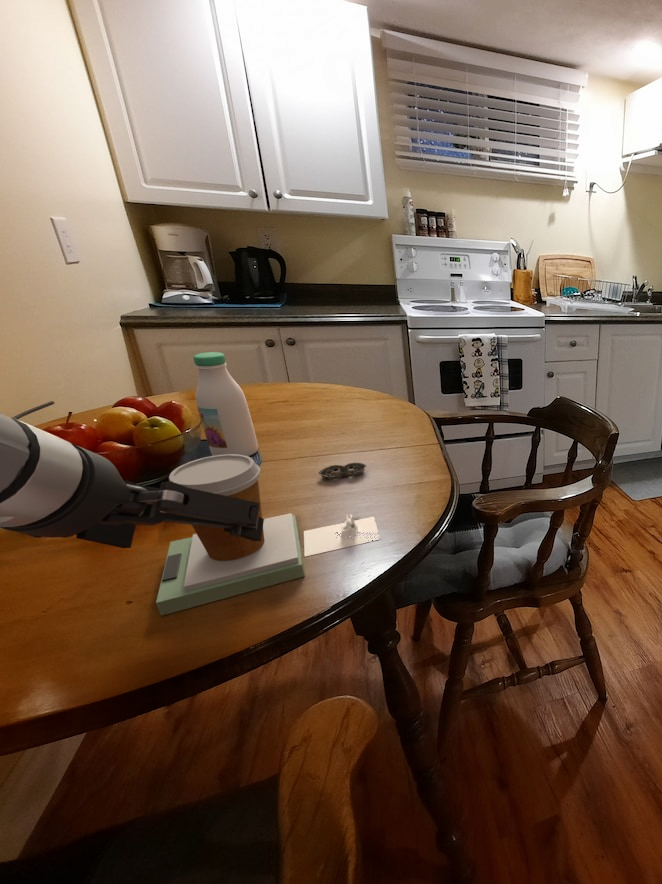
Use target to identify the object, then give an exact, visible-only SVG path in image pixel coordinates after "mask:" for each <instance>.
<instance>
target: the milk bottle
mask: <svg viewBox="0 0 662 884" xmlns="http://www.w3.org/2000/svg"><path fill="white" fill-rule="evenodd" d="M192 359H193V362H194V365H195V368H196V369H197V370H198V381H197V386H196V389H195V404H196V407H197V411H198V414H199V418H200V422H201V425H202V429H203V432H204V435H205V437H206V441H207V444H208V445H207V446H208V448H209V452H210V454H211V456H215V455H224V454H239V455H245V456H248V457H250V456H252V455H254V454H256V453H257V452H258V450H259V442H258V439H257V436H256V432H255V427H254V424H253V420H252V417H251V413H250V409H249V405H248V402H247V399H246V396H245V393H244V391H243V389H242V388H241V386H240V385H239V384H238V382H236V380H235V379H234V378H233V376H232V375H231V374H230V372H229V371H228V369H227V365H228V363H227V360H226V357H225V354H224V353H223V352H219V351H210V352H209V351H207V352H200V353H197V354H195V355H193V358H192Z"/></svg>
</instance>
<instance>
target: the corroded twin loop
mask: <svg viewBox="0 0 662 884" xmlns="http://www.w3.org/2000/svg"><path fill="white" fill-rule="evenodd" d="M366 467H367V465H366V464H364V463H361V462H349V463H347V464H345V465H341V464H333V465H329V466H327V467H324V468H322V469H320V470H319V471H318V475H320V476H321V478H323V479H326V480H327V479H328V480H331V481H333V480H337V479H340V478H342V477H344V476H346V477H355V476H358V475H360V474H362V473H363V472H364V471H365V468H366Z"/></svg>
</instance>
